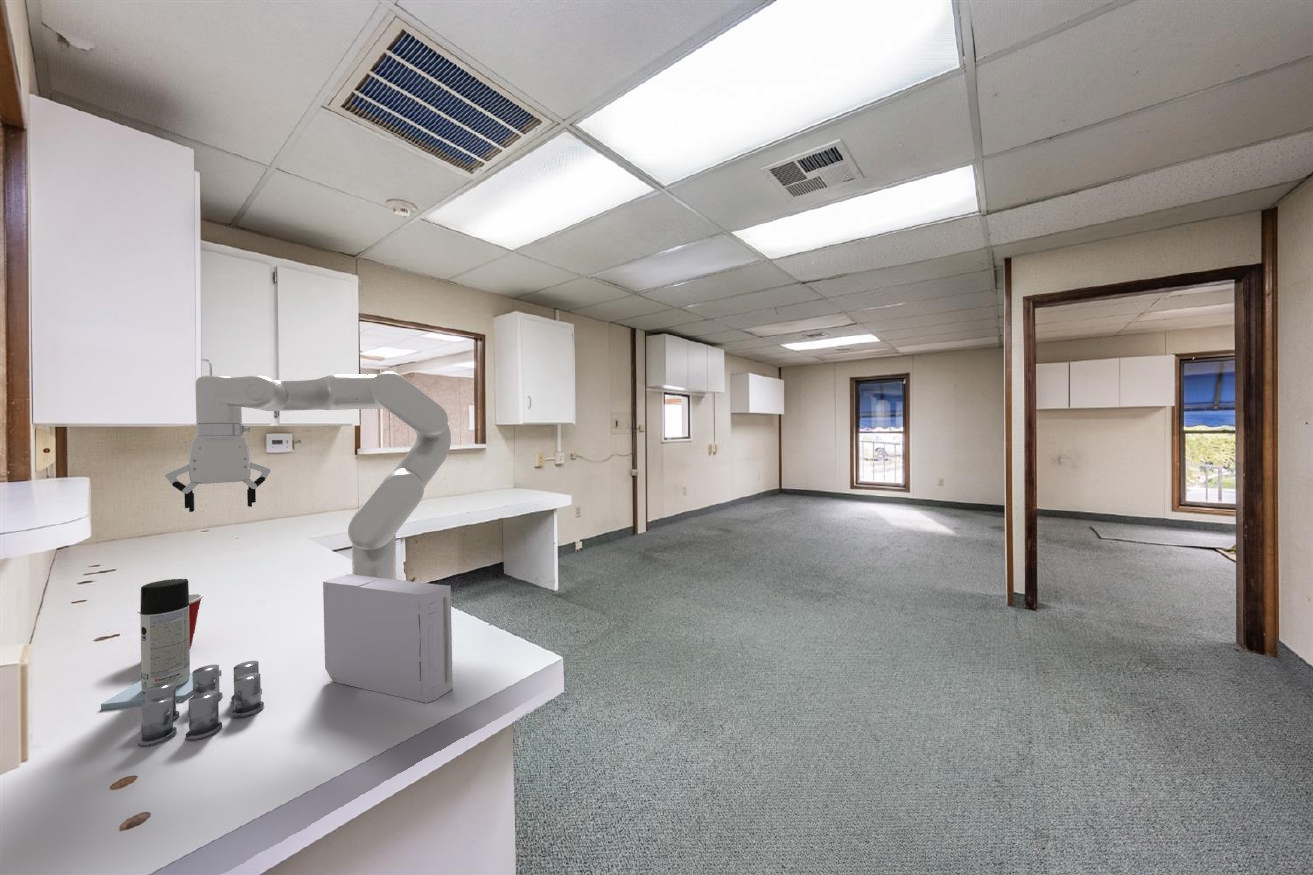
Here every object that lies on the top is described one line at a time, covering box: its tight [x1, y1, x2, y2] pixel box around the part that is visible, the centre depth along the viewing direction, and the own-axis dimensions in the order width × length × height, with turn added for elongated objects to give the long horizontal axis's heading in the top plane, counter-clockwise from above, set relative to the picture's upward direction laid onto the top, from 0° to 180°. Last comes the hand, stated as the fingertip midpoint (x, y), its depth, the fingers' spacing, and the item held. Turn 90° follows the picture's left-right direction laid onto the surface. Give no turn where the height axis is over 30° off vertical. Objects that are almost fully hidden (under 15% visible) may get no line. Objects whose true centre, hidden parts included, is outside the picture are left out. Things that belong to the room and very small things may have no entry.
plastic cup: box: [136, 593, 204, 649], centre depth 111 cm, size 11×11×12 cm
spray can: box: [140, 578, 191, 694], centre depth 94 cm, size 7×7×20 cm
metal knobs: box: [137, 660, 265, 748], centre depth 85 cm, size 17×16×6 cm
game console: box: [322, 573, 454, 704], centre depth 95 cm, size 6×27×20 cm, turn 70°
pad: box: [100, 669, 222, 711], centre depth 94 cm, size 13×10×1 cm
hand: (221, 508), depth 108 cm, fingers open, 9 cm apart
